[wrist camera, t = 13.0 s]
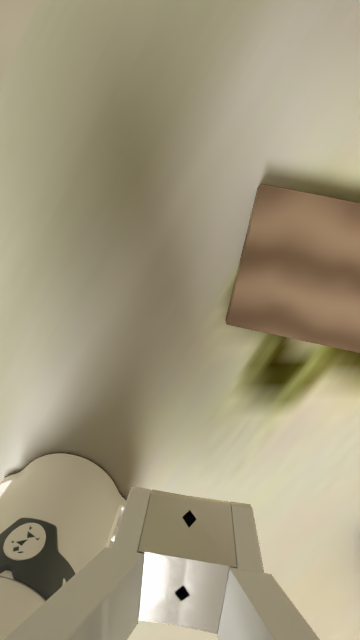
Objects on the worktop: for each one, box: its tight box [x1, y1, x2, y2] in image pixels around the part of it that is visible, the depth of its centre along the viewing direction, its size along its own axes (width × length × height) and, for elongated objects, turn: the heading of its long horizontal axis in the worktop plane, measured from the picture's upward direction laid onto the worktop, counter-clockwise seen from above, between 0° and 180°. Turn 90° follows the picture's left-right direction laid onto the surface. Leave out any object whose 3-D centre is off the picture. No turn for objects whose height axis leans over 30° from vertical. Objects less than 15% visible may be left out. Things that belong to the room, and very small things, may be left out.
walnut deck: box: [226, 184, 360, 353], centre depth 31 cm, size 14×16×2 cm
